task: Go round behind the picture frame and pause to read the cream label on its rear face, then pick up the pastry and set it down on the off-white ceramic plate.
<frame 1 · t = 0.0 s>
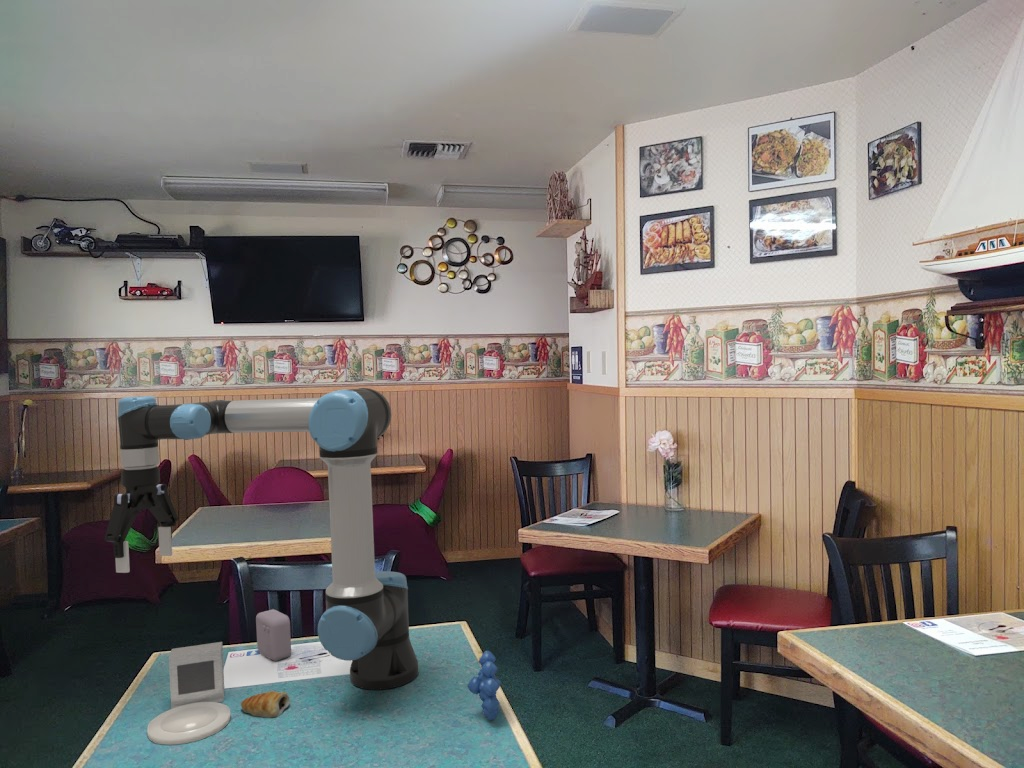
hand: (145, 563, 163), 28 cm above the table, fingers open, 13 cm apart
grapes: (485, 715, 146), on the table
plate: (189, 725, 146), on the table
pastry: (266, 712, 152), on the table
picture frame: (198, 700, 157), on the table
electronic device: (273, 656, 181), on the table
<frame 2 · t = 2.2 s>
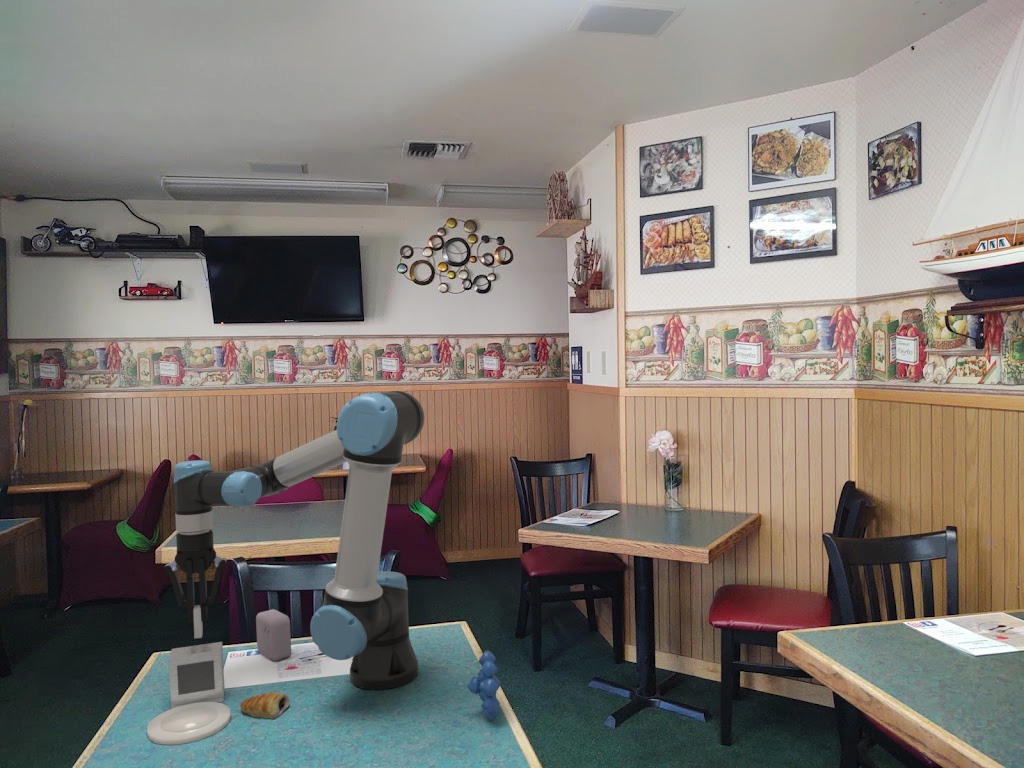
hand: (198, 635, 166), 11 cm above the table, fingers closed
nothing on the table moved.
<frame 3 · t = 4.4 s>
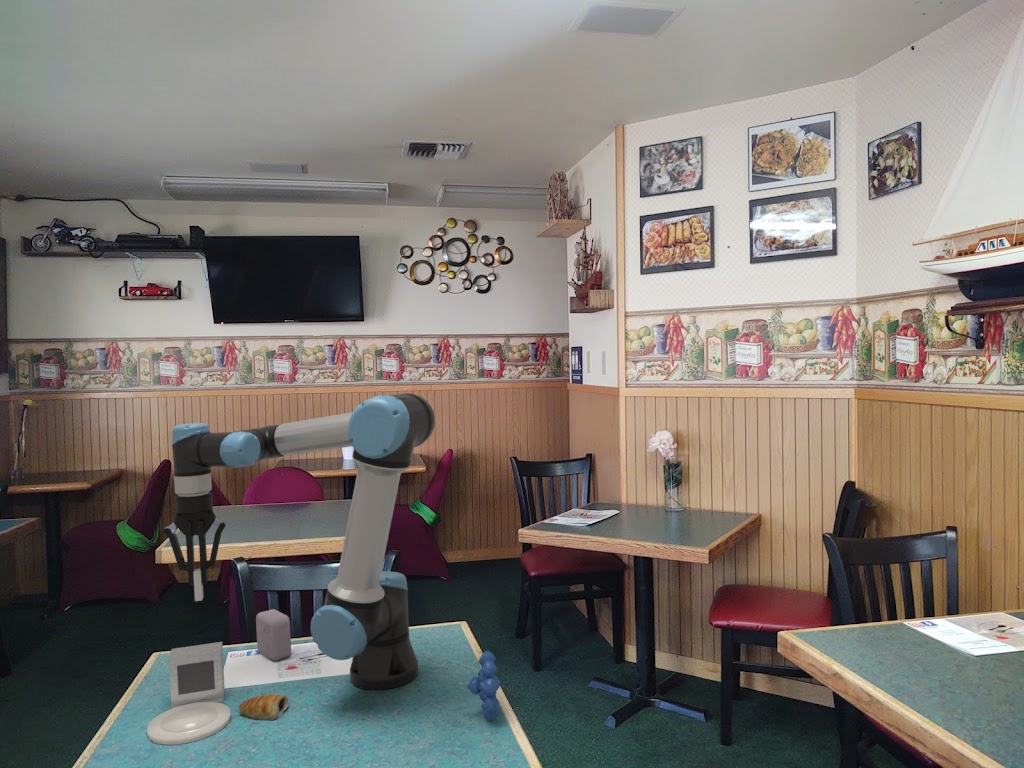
hand: (199, 599, 165), 19 cm above the table, fingers closed
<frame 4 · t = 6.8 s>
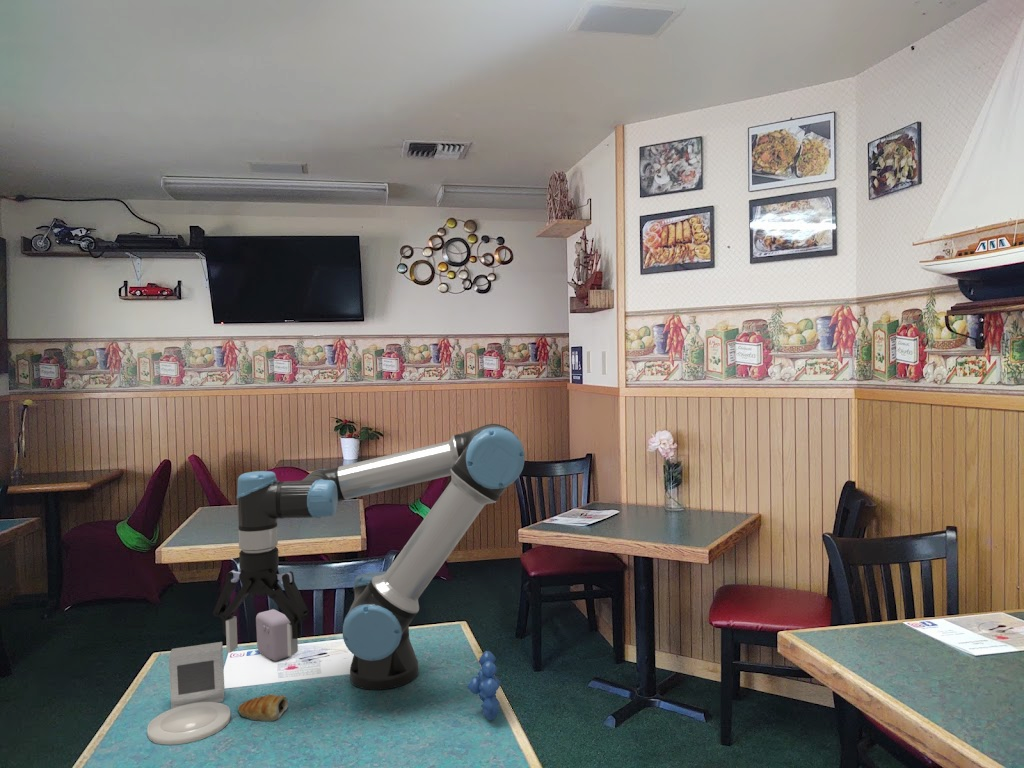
hand: (262, 652, 151), 12 cm above the table, fingers open, 13 cm apart
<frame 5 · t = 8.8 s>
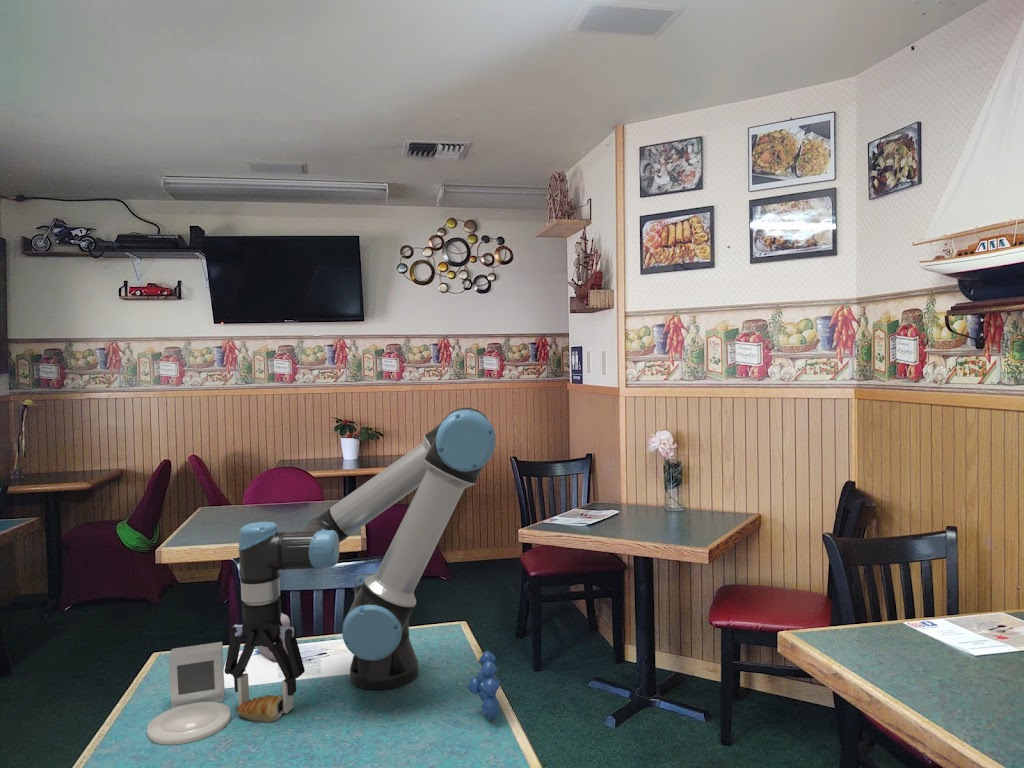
hand: (266, 708, 152), 0 cm above the table, fingers closed on pastry, 9 cm apart
pastry: (264, 716, 149), on the table, touching gripper
everything else where it was.
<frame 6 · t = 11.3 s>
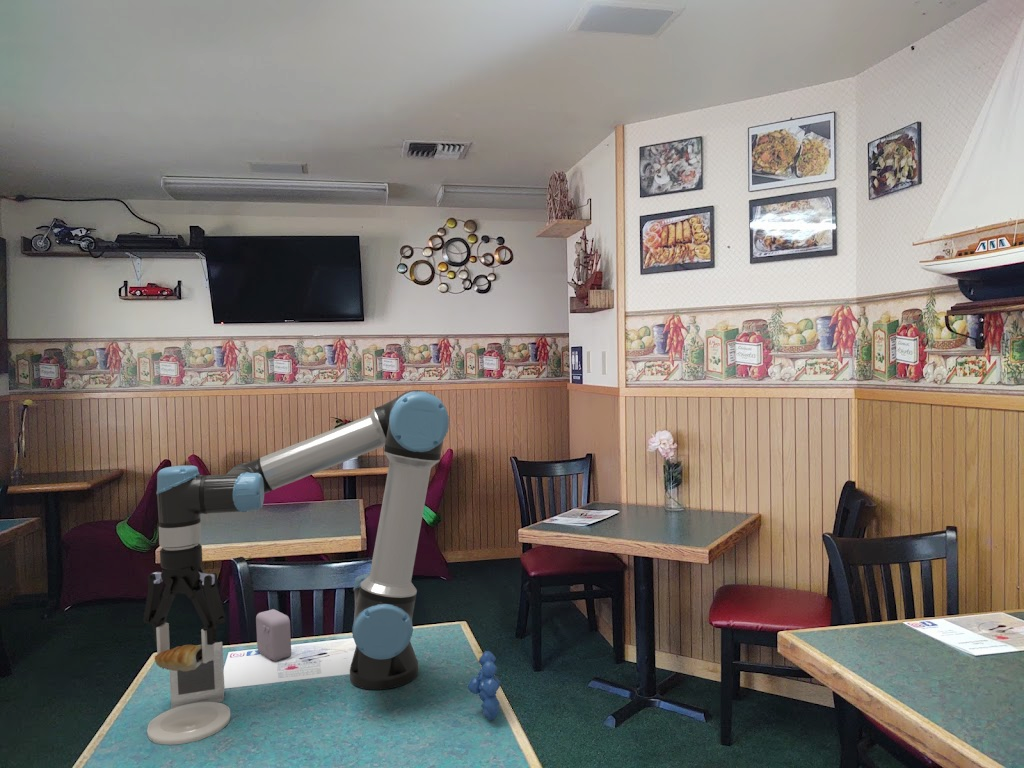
hand: (186, 659, 146), 13 cm above the table, fingers closed on pastry, 9 cm apart
pastry: (182, 666, 144), point 13 cm above the table, touching gripper
everything else where it was.
when the fingers open (3 cm above the table, at t = 13.5 s): pastry drops 1 cm, resting on plate.
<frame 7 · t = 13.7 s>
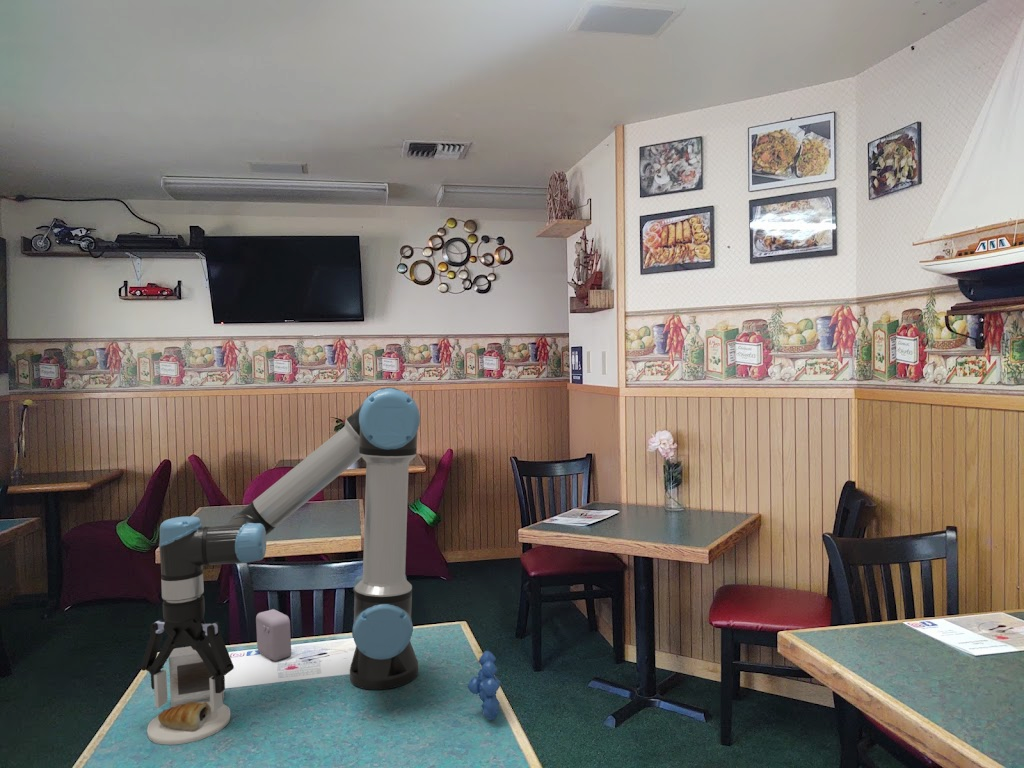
hand: (188, 706, 146), 4 cm above the table, fingers open, 11 cm apart
pastry: (186, 724, 144), point 1 cm above the table, touching plate
everything else where it was.
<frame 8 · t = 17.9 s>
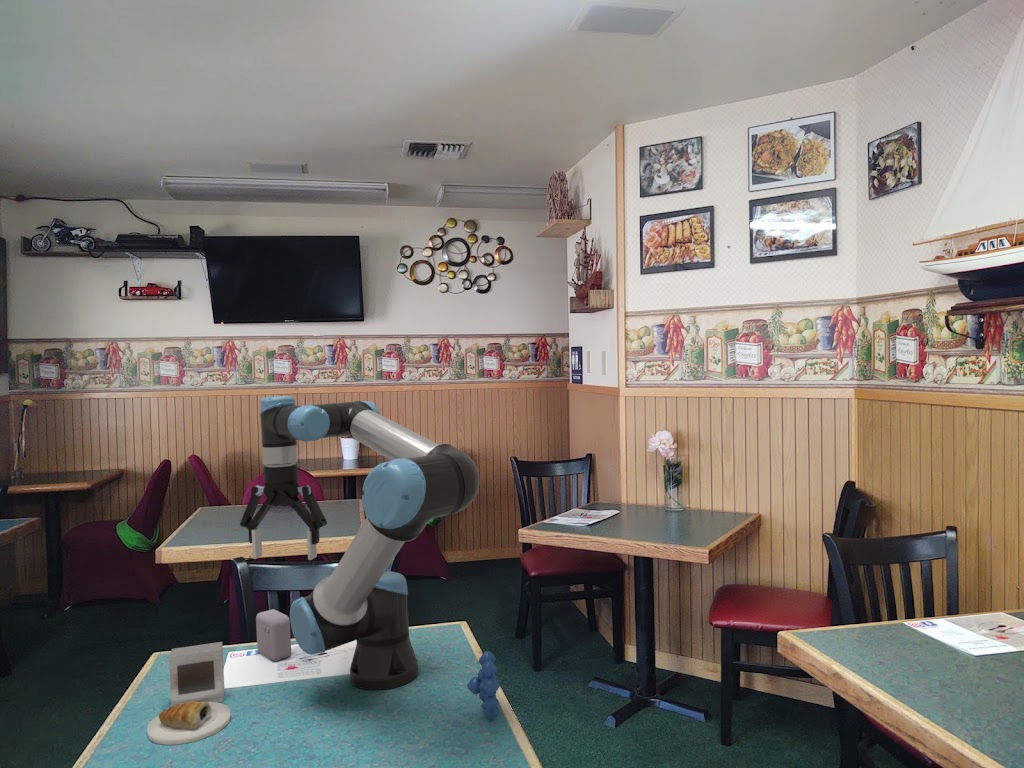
hand: (284, 557, 168), 27 cm above the table, fingers open, 13 cm apart
nothing on the table moved.
at the end: pastry 1.8 cm from the plate (horizontally); pastry point 1.1 cm above the table; the gripper is holding nothing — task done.
